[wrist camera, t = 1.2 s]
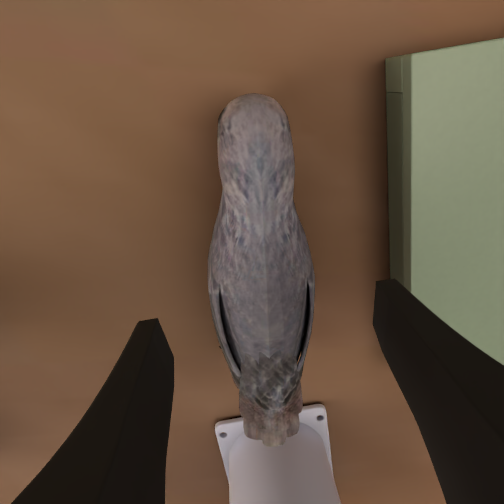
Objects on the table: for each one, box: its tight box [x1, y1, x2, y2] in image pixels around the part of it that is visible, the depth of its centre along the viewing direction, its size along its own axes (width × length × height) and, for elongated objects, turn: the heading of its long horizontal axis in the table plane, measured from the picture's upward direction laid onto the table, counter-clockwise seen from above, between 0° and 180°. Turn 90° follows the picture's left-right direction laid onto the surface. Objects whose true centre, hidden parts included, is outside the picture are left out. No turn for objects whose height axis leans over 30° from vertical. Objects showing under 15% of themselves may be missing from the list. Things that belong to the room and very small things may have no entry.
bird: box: [208, 93, 315, 447], centre depth 20 cm, size 5×16×8 cm, turn 4°
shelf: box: [385, 38, 504, 365], centre depth 22 cm, size 19×10×3 cm, turn 9°
